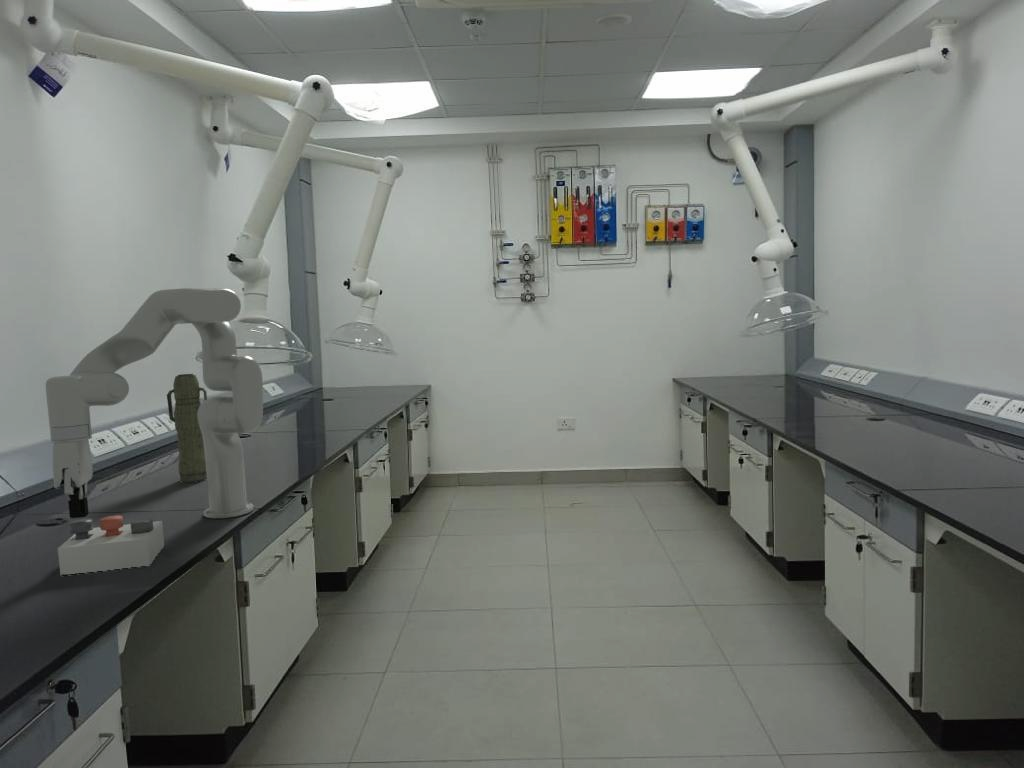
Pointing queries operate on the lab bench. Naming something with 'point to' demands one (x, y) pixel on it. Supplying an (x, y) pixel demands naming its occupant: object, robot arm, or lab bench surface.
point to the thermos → (188, 427)
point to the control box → (110, 550)
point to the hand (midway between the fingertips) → (79, 516)
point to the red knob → (111, 525)
